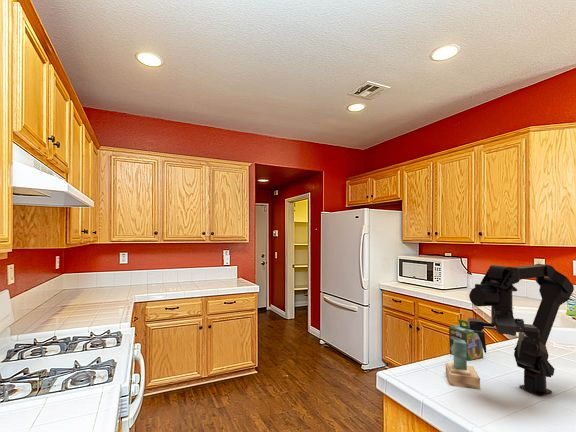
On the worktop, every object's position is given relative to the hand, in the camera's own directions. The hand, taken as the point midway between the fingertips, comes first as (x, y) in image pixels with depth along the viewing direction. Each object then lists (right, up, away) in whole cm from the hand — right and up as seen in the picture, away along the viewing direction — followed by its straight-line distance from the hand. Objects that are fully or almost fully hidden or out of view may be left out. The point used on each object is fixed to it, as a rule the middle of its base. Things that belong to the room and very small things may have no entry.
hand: (501, 355), depth 104 cm
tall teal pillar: (-8, -10, +11) cm, 17 cm away
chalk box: (+7, -15, +33) cm, 37 cm away
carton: (-7, -13, +10) cm, 18 cm away
